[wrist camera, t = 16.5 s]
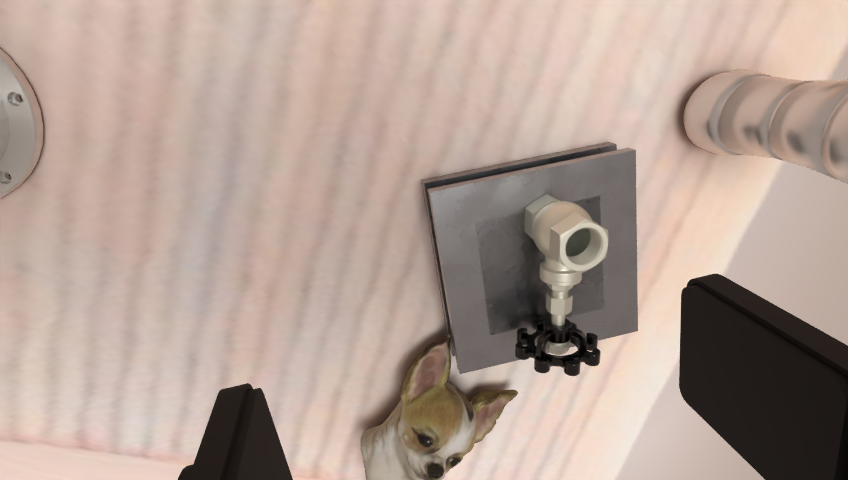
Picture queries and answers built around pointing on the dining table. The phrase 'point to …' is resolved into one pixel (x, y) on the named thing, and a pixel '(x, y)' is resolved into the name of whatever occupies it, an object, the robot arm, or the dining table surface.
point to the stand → (529, 249)
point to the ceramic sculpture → (430, 422)
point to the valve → (561, 282)
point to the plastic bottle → (772, 119)
